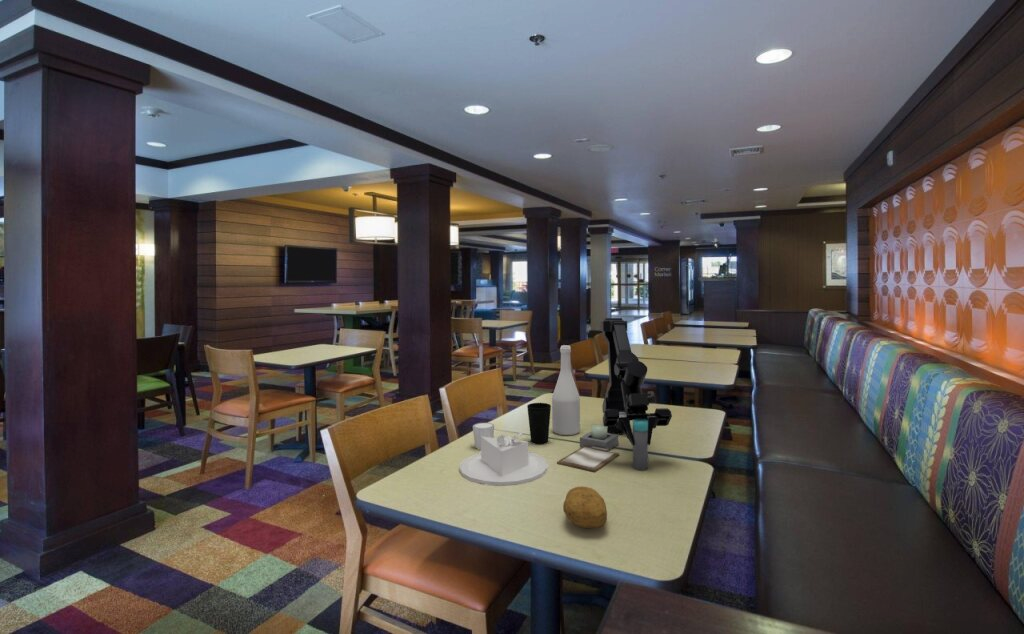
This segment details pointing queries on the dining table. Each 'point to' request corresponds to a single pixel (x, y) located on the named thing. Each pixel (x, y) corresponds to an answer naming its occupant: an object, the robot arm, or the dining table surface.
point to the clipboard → (588, 458)
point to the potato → (585, 507)
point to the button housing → (599, 441)
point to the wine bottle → (565, 399)
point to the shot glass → (482, 432)
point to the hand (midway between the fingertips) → (641, 444)
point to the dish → (503, 462)
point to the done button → (599, 432)
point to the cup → (539, 422)
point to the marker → (640, 444)
